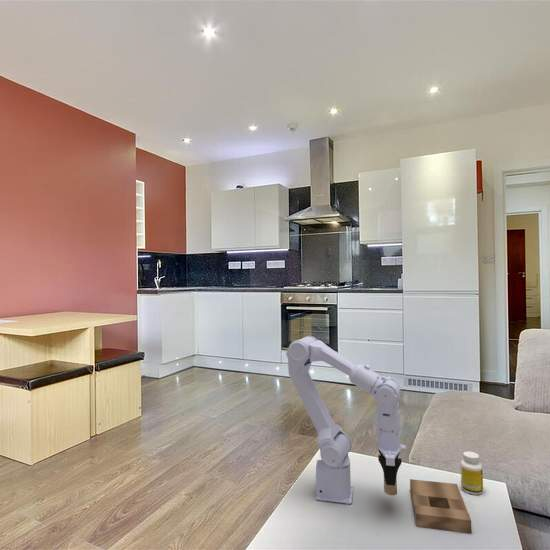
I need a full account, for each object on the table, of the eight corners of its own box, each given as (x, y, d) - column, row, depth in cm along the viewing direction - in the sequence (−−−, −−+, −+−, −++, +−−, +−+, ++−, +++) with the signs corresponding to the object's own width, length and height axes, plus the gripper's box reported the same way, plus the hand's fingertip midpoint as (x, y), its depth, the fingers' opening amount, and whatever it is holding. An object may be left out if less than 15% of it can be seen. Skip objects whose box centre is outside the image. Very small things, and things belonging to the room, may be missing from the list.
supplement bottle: (486, 496, 102) (484, 459, 102) (464, 494, 103) (463, 458, 103) (479, 485, 107) (478, 450, 107) (458, 484, 108) (457, 449, 109)
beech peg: (384, 494, 97) (383, 459, 97) (383, 488, 100) (383, 453, 100) (397, 496, 96) (396, 460, 96) (396, 489, 99) (395, 454, 100)
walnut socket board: (416, 526, 91) (415, 513, 91) (410, 490, 106) (410, 479, 106) (471, 533, 88) (471, 520, 88) (457, 495, 103) (456, 483, 103)
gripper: (407, 440, 90) (408, 498, 90) (402, 418, 105) (404, 468, 104) (376, 438, 92) (378, 494, 92) (376, 417, 106) (377, 465, 106)
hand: (390, 480), depth 98 cm, fingers closed on beech peg, 3 cm apart
